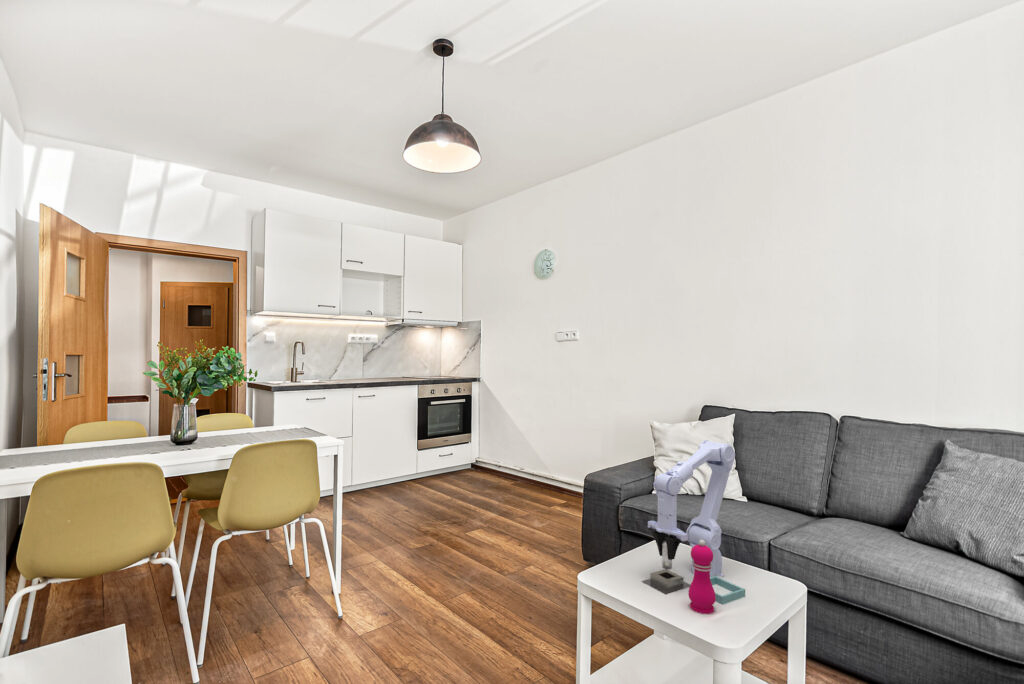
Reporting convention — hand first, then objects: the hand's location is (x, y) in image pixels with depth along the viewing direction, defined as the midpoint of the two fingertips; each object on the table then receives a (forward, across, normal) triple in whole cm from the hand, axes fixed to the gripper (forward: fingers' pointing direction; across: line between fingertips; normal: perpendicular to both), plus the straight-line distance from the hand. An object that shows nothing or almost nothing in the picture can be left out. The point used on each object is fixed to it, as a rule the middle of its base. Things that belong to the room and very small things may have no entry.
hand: (667, 557), depth 156 cm
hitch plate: (+9, 0, 0) cm, 9 cm away
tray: (+9, +12, +9) cm, 18 cm away
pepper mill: (+9, +16, -3) cm, 19 cm away
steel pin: (+3, 0, 0) cm, 3 cm away
